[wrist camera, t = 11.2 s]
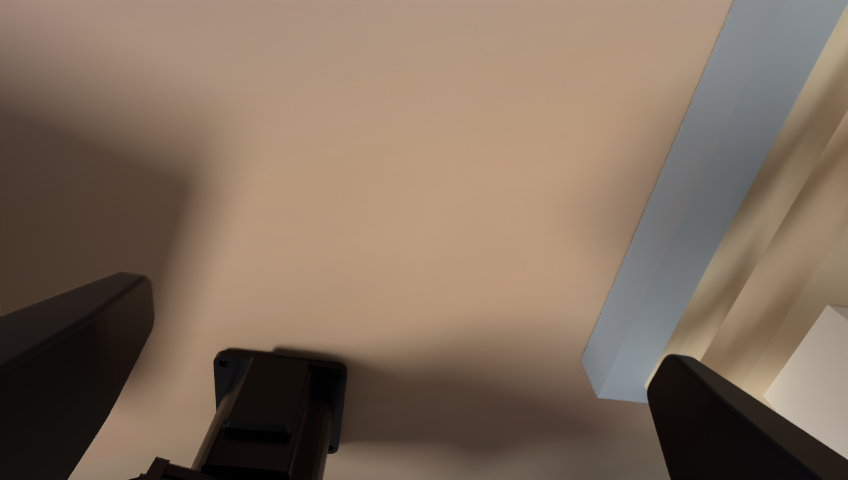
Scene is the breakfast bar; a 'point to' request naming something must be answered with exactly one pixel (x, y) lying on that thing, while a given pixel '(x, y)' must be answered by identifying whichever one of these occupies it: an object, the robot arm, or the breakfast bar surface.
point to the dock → (705, 182)
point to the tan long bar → (780, 242)
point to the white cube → (818, 382)
